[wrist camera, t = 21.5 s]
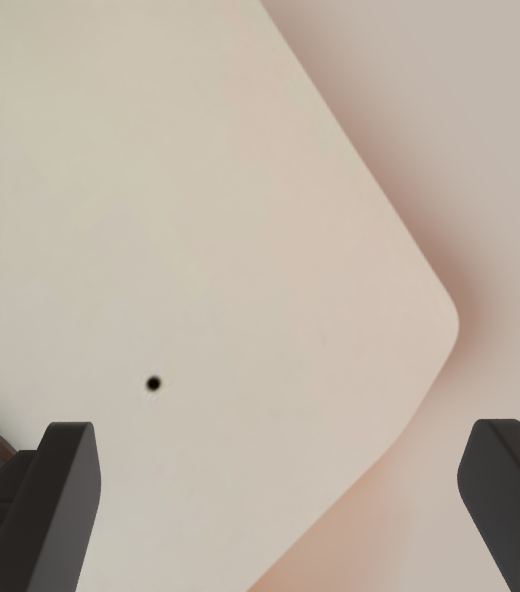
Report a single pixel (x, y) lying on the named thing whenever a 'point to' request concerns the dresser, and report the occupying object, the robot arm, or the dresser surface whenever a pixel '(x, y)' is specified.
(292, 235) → the dresser surface
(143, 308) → the dresser surface
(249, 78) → the dresser surface
